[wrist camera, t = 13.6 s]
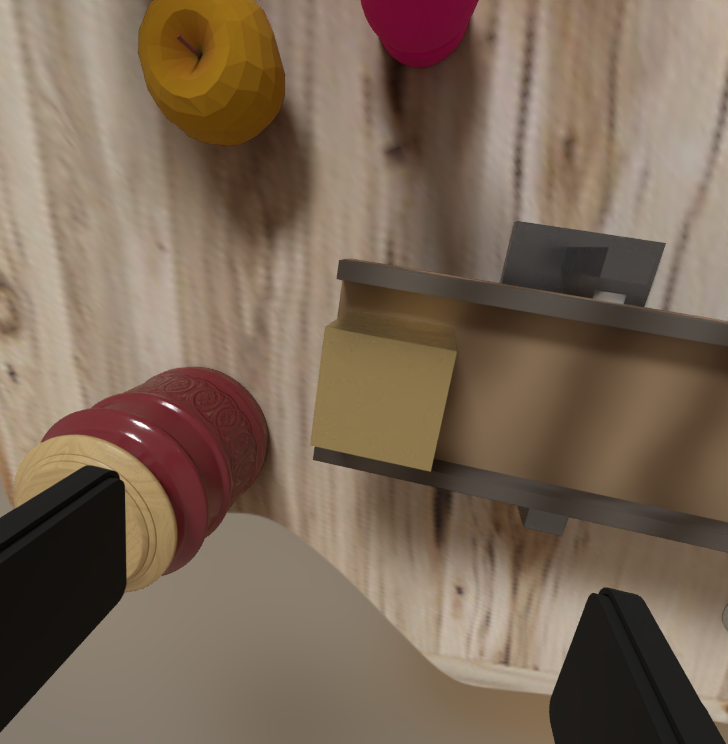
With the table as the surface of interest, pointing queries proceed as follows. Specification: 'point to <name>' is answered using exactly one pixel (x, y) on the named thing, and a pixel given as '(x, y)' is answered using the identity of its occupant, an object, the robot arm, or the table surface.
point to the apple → (212, 67)
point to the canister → (160, 461)
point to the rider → (383, 388)
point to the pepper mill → (419, 27)
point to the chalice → (725, 617)
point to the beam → (567, 402)
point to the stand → (577, 284)
